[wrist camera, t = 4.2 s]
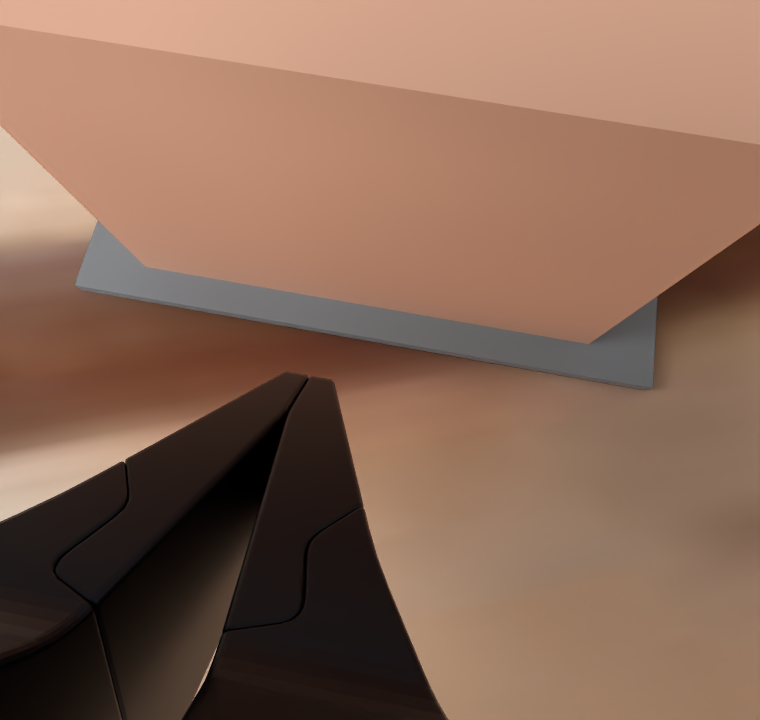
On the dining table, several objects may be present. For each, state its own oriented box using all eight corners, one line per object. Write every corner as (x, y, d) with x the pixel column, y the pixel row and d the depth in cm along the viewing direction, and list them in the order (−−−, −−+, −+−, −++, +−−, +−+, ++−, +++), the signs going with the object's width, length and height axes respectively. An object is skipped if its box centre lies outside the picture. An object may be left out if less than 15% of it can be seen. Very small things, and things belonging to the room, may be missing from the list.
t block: (588, 344, 16) (851, 159, 7) (145, 266, 16) (-124, 5, 8) (617, 10, 19) (822, -403, 10) (246, -45, 19) (140, -481, 11)
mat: (645, 390, 16) (652, 387, 15) (81, 290, 16) (74, 285, 16) (675, -144, 21) (681, -156, 21) (254, -201, 22) (252, -213, 22)
